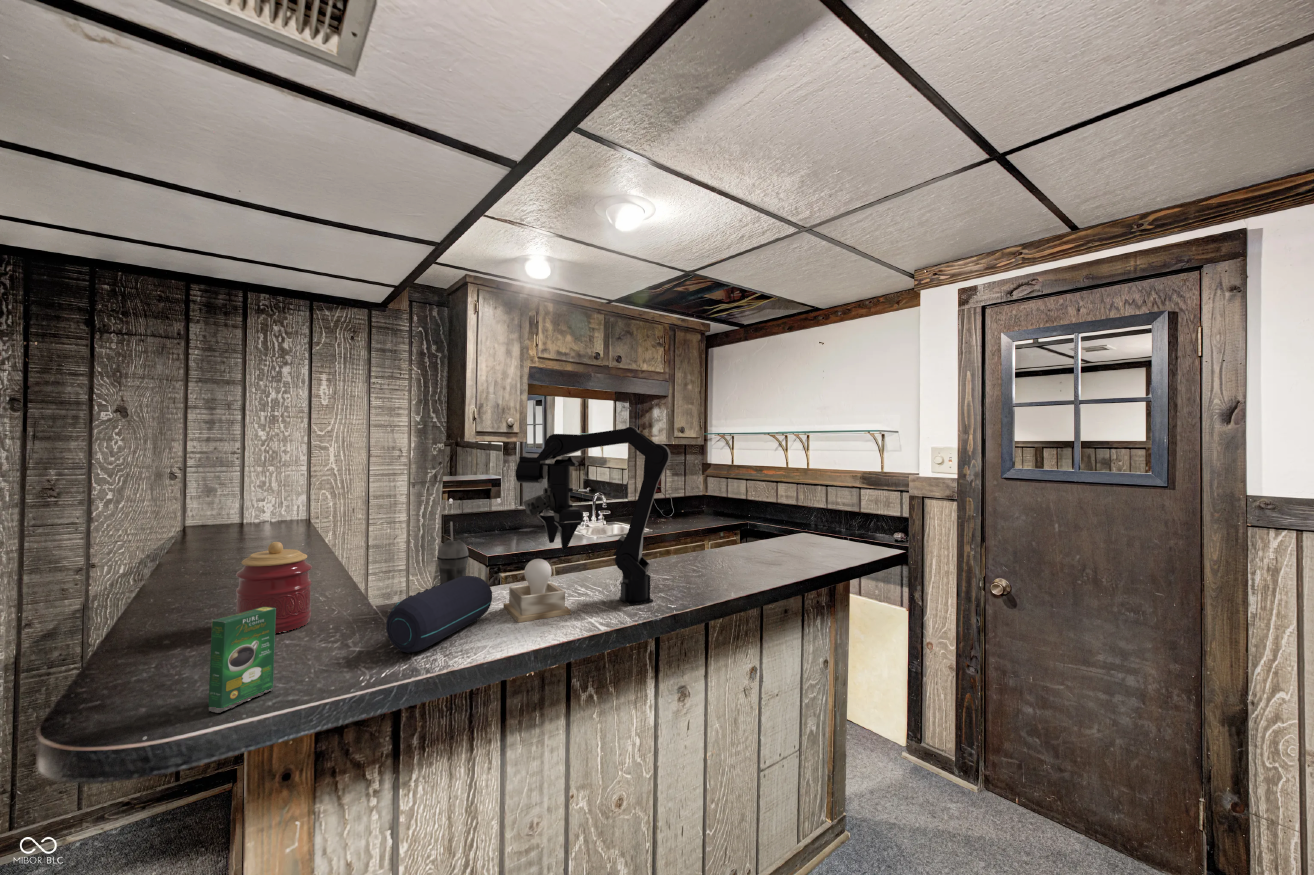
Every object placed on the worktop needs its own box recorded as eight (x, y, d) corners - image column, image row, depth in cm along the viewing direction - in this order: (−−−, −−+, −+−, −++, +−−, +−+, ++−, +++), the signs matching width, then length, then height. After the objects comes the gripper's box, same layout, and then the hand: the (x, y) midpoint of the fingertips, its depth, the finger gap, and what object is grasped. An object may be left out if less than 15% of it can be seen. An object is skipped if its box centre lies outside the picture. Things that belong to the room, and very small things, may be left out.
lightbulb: (556, 605, 127) (557, 558, 127) (538, 612, 122) (538, 563, 122) (536, 600, 130) (537, 554, 130) (518, 607, 125) (518, 559, 125)
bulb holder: (552, 600, 134) (552, 580, 134) (570, 614, 124) (570, 592, 124) (503, 607, 128) (503, 586, 128) (518, 622, 118) (518, 599, 118)
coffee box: (262, 688, 86) (263, 604, 86) (275, 690, 85) (277, 606, 85) (206, 712, 78) (208, 620, 78) (221, 715, 77) (223, 622, 77)
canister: (324, 622, 117) (326, 539, 117) (259, 642, 105) (260, 550, 105) (287, 613, 122) (288, 534, 122) (220, 631, 110) (222, 544, 111)
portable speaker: (457, 614, 123) (458, 570, 123) (497, 618, 121) (497, 573, 121) (374, 656, 99) (375, 601, 99) (421, 662, 96) (422, 605, 97)
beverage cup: (473, 601, 133) (474, 519, 133) (460, 610, 126) (461, 523, 126) (445, 600, 134) (446, 518, 134) (430, 609, 126) (431, 522, 127)
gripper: (516, 482, 141) (515, 542, 141) (539, 487, 125) (538, 555, 125) (557, 480, 147) (556, 539, 146) (584, 486, 131) (583, 551, 130)
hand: (557, 545), depth 137 cm, fingers open, 9 cm apart
